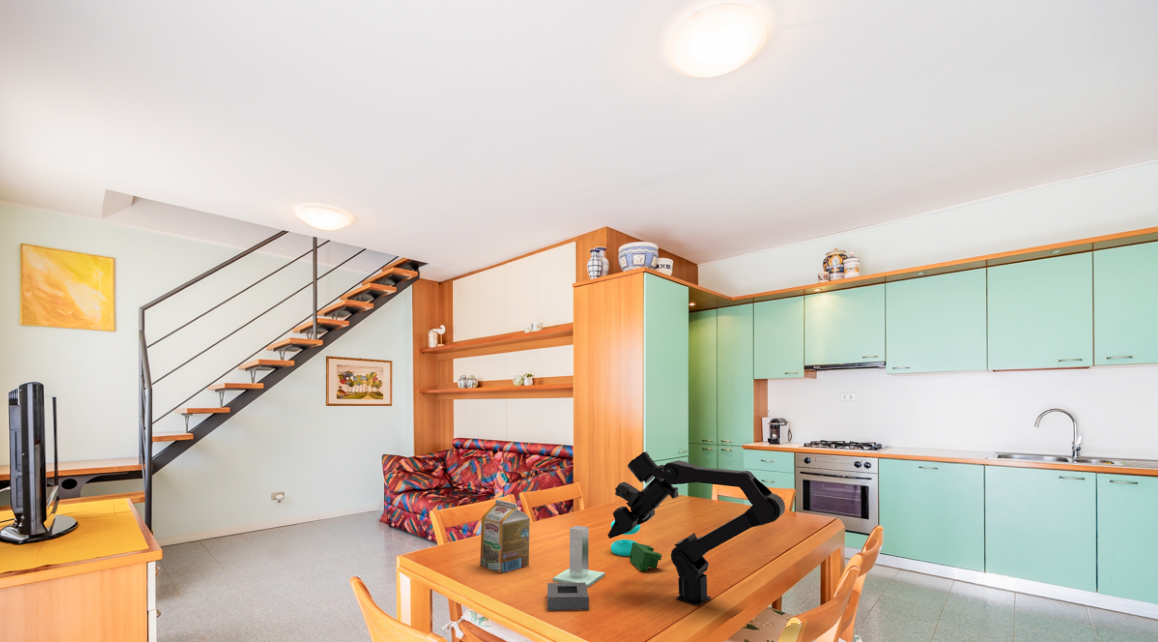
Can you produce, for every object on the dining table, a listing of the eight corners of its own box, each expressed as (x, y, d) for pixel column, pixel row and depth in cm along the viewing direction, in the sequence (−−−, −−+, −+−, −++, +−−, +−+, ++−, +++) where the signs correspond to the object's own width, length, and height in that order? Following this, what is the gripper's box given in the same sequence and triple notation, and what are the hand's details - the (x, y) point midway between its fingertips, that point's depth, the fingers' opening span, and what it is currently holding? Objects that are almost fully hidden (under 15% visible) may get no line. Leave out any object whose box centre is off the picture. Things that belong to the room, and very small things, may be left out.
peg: (588, 574, 151) (588, 527, 153) (581, 578, 148) (582, 530, 149) (576, 572, 153) (576, 525, 155) (569, 576, 149) (569, 528, 151)
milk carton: (480, 565, 161) (482, 501, 163) (507, 558, 168) (509, 497, 171) (500, 574, 153) (502, 506, 156) (528, 566, 161) (529, 501, 163)
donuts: (621, 526, 170) (605, 520, 178) (621, 558, 168) (605, 550, 177) (646, 523, 174) (629, 517, 183) (646, 554, 173) (629, 547, 182)
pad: (604, 575, 152) (604, 572, 153) (587, 587, 143) (587, 584, 143) (571, 569, 157) (571, 566, 158) (552, 580, 148) (553, 577, 148)
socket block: (585, 594, 138) (585, 582, 138) (588, 609, 128) (588, 596, 128) (547, 595, 137) (547, 583, 138) (547, 610, 127) (547, 597, 128)
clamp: (654, 585, 157) (664, 560, 155) (636, 581, 156) (646, 556, 154) (645, 558, 169) (654, 534, 167) (627, 554, 168) (637, 530, 166)
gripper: (644, 469, 156) (610, 504, 159) (619, 477, 139) (582, 516, 143) (670, 499, 151) (634, 534, 154) (648, 511, 134) (609, 550, 138)
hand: (615, 533), depth 147 cm, fingers open, 9 cm apart
